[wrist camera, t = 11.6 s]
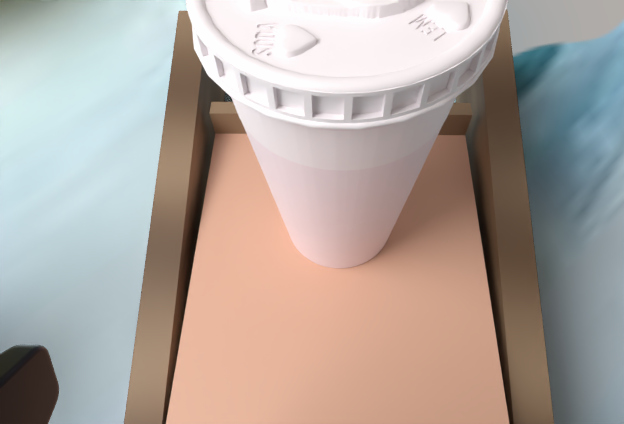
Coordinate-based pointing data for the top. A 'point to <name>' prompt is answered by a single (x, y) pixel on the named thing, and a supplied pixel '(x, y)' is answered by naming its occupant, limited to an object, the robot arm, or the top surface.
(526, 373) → the frame
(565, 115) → the top surface
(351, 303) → the trapdoor
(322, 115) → the smoothie
